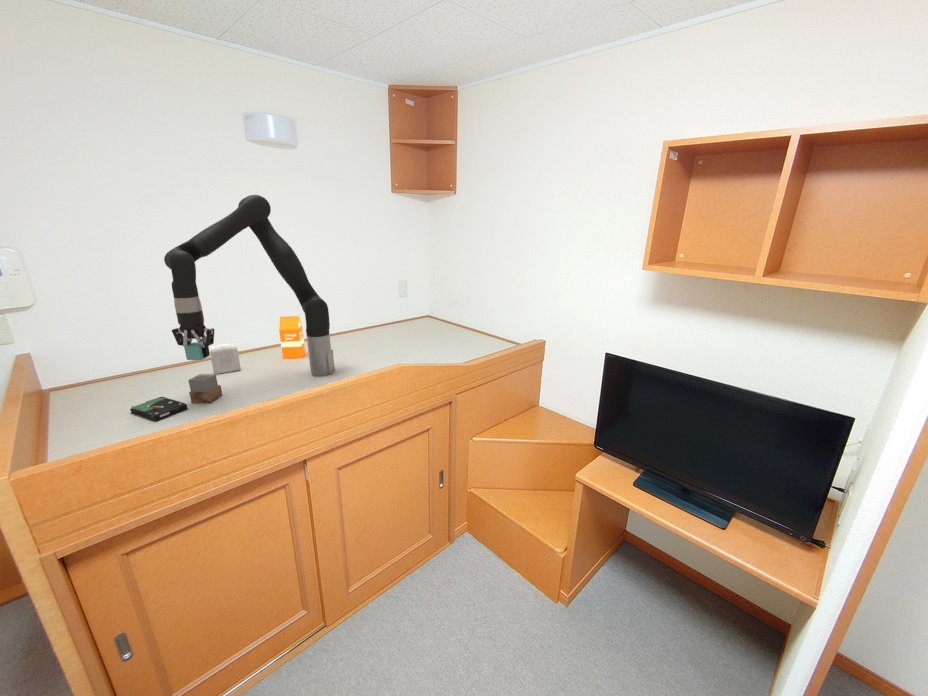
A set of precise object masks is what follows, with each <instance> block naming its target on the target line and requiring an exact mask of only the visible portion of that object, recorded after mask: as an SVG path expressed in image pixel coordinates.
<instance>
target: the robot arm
mask: <svg viewBox="0 0 928 696" xmlns="http://www.w3.org/2000/svg"><path fill="white" fill-rule="evenodd" d="M271 208H272V207H271V205H270V202H269V201H268V200H267V198H265V197H264V196H261V195H258V194H251V195H247V196H245V197H244V198H242V199H241V200H240V201H239V202H238V206H237V208H236V209H235V210H234V211H232V212H231V213H230V214H228V215H226V216H225V217H223V218H222V219H220V220H217V221H216V222H215V223H213V224H211V225H209V226H208V227H206V228H204V229H203V230H202V231H200V232H198V233H197V234H196V235H194V236H192V237H191V238H190V239H189V240H186V241H185V242H183V243H181V244H179V245H177V246H176V247H173V248H172V249H170V250H169V251H167V253H166V254H165V255H164V257H163V258H164V259H163V261H164V264H165V265H166V267H168V269H170V271H171V276H172V282H171V290H172V294H173V295H172V296H173V302H174V305H173V306H174V309H175V315H176V318H177V324H178V325H179V327H175V328H173V329H171V333H172V335H173V337H174V339H175V341H176V343H177V345H178V346H179V347H180V346H182V347H183V348H184V346H186V345H188V344H191V343H193V342H192V341H193V339H194V340H196V342H199V343H200V345H201V347H202V353H203V357H205V358H204V359H206V358H209V357H210V356H211V355H210V348H209V347H210V346H212V345H213V344H214V342H215V341H214V340H215V328H213V327H212V328H208V327H207V326H206V325H205V324H204V323H205V318H204V317H205V316H204V311H203V306H202V302H201V299H200V297H199V290H198V287H197V286H198V285H197V269H196V262H197V261H198V260H200V259H202V258H205V257H208V256H210V255H211V254H213V253H214V252H215V251H217V250H219V249H220V248H221V247H222V246H224V244H226V243H227V242H229V241H230V240H232V239H233V238H234V237H235V236H237V235H238V234H239V233H240V232H243V230H245V229H247V228H249V229H250V230H251V231H252V232H253V234H254V235H255V236H256V238H257V239H258V241H259V242H260V244H261V246H262V248H263V250H264V251H265V253H266V254H267V256H268V258H269V259H270V262H271V263H272V265H273V266H274V268H275V269H276V270H277V273H278V274H279V275H280V276H281V278H282V279H283V280H284V282H285V283H286V284H287V285H288V286H289V288H290V289H291V290H292V291H293V293H294V295H295V297H296V299H297V300H298V302H299V305H300V307H301V308H302V311H303V312H304V317H305V326H306V327H305V336H306V340H307V350H308V360H309V367H310V368H309V369H310V374H311V376H316V377H320V376H321V377H323V376H330V375H332V374H333V373H334V372H335V370H336V368H335V359H334V356H335V355H334V350H333V349H332V346H331V345H332V344H331V336H330V334H331V333H330V329H331V328H330V326H331V323H330V313H329V306H328V303H327V302H326V301H325V300H324V299H322V298H321V297H320V296H319V294H318V292H317V291H316V290H315V289H314V287H313V286H312V285H311V282H310V281H309V278H308V277H307V274H306V271H305V269H304V267H303V264H302V263H301V261H300V258H299V257H298V255H297V254H296V252H295V251H294V249H293V248H292V247H291V246H290V245H289V242H287V241H286V240H285V239H284V238H282V236H281V235H280V234H279V233H278V232H277V230H276V229H275V228H274V226H273V225H272V223H271V221H270V220H269V217H270V214H271V211H272V209H271ZM209 355H210V356H209ZM208 356H209V357H208Z"/></svg>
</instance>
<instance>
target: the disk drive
mask: <svg viewBox="0 0 928 696" xmlns="http://www.w3.org/2000/svg"><path fill="white" fill-rule="evenodd" d="M188 410H189V408H188V404H187V403H185V402H181V401H179V400H174V399H172V398H168V397H165V396H158V397H156V398H153V399H150V400H146V401H145V402H143V403H139V404H137V405H135V406H133V405H132V406H131V408H130V413H131V414H133V415H135V416H138V417H141V418H144V419H146V420H150V421H152V422H155V423H157V422H160V421H162V420H165V419H168V418H169V417H173V416H175V415H177V413H178V414H180V413H183V412H185V411H188ZM172 415H173V416H172Z"/></svg>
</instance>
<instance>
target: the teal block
mask: <svg viewBox="0 0 928 696" xmlns="http://www.w3.org/2000/svg"><path fill="white" fill-rule="evenodd" d="M183 349H184V353H185V357H186V360H187V361H202V360H205V359H206V358H205V357H203V353H202V347H201V345H200V343H199V342H197V341H196V342H191V344H188V345H186V346H184V347H183ZM209 357H211V355H209V356H208V357H207V358H209Z"/></svg>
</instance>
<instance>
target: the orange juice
mask: <svg viewBox="0 0 928 696" xmlns="http://www.w3.org/2000/svg"><path fill="white" fill-rule="evenodd" d="M278 326H279V327H278V332H279V339H280V347H281V353H282V359H283V360H291V359H295V360H296V359H302V358H303V357H304V356H305V355H306V345H305V338H304V330H303V325H302V321H301V318H300V316H299V315H298V316H297V315H296V316H295V315H294V316H279V325H278Z"/></svg>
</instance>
